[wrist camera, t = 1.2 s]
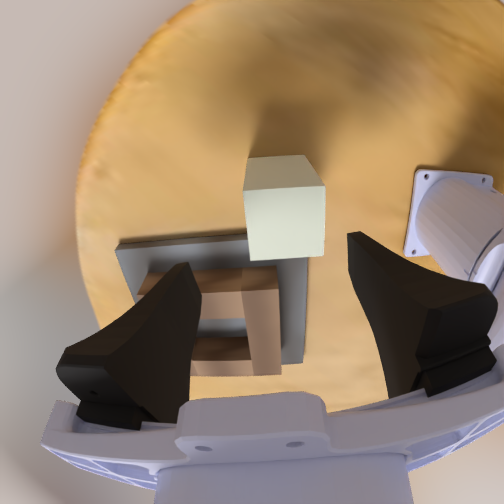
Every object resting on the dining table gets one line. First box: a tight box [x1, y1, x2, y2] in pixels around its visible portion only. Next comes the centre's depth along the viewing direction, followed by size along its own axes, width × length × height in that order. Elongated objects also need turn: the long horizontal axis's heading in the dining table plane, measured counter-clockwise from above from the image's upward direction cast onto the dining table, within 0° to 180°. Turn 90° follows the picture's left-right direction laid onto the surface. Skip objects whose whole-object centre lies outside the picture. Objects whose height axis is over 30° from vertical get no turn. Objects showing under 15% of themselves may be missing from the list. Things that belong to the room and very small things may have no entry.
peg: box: [243, 155, 326, 261], centre depth 17 cm, size 4×4×7 cm
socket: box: [115, 234, 307, 376], centre depth 25 cm, size 16×16×4 cm
